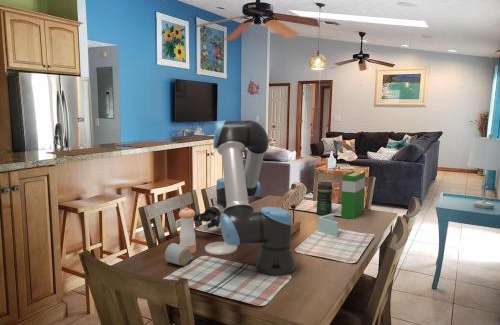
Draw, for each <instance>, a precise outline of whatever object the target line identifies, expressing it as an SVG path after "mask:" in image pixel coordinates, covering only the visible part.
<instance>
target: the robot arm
mask: <svg viewBox="0 0 500 325" xmlns="http://www.w3.org/2000/svg"><path fill="white" fill-rule="evenodd" d="M268 148H269V136H268V134H267V131H266V130H265V128H264V127H263V126H262V125H261V124H260V123H258V122H257V121H254V120H249V119H248V120H225V119H224V120H218V121H216V122H215V126H214V132H213V149H217V153H218V154H219V155H220V156H221V160H222V161H221V162H222V163H221V164H222V172H223V177H220V178H218V179H216V186H215V187H216V188H215V189H216V204H215V205H213V206H210V207H208V208H206V209H205V210H204V211H203V212H202V213H199V212H195V216H194V222H198V223H199V222H202V223H203V222H204V223H203V224H201V231H202V232H205V231H207V230H209V229H210V228H214V227H216V228H219V226H220V231H221V236H222V238H223V242H225V243H226V244H228V245H237V246H241V245H253V244H255V245H256V244H260V249H259V252H258V254H257V258H256V260H255V268H256V270H257V271H259V272H260V273H262V274H264V275H269V276H285V275H288V274H289V275H290V274H291V273H293V272H294V271H295V270H296V260H295V259H294V256H293V255H294V254H293V252H292V214H291V213H290V212H289V211H288V210H286V209H284V208H280V207H275V206H264V207H261V208H260V211H259V212H255V211H254V207H253V206H252V205H251V204H250V203H249V197H256V196H257V197H258V196H260V194H261V190H262V189H261V187H262V186H261V182H260V181H259V178H260V174H261V169H262V164H263V161H264V160H263V159H264V156H265V153H266V152H267V151H268ZM246 149H247V154H246V158H245V164H244V158H243V157H244V156H243V153H244V152H245V151H246ZM175 227H176V228H178V227H181V218H180V217H179V219H177V220H175Z"/></svg>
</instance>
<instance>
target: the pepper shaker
mask: <svg viewBox="0 0 500 325" xmlns="http://www.w3.org/2000/svg"><path fill="white" fill-rule="evenodd" d="M195 213H196V212H195V210H194V209H192V208H189V207H185V208H184V209H181V210H179V212H178V216H179V219H180V218H181V226H180V230H179V244H178V245H181V246H184V247H186V248H188V249H189V250H190V251H191V254H194V253H196V252H197V242H196V233H195V232H196V231H195V224H194V223H195V221H194V216H195Z"/></svg>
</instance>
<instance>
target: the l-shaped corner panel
mask: <svg viewBox="0 0 500 325" xmlns="http://www.w3.org/2000/svg"><path fill="white" fill-rule="evenodd" d="M339 226H340V225H339V221H335V213H331V214H329V215H324V216H322V215H321V216H319V217H317V232H320V233H323V234H325V235H329V236H332V237H336V238H338V237H339V235H340V234H342V232H343V231H342V228H340V227H339Z"/></svg>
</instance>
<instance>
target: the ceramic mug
mask: <svg viewBox="0 0 500 325" xmlns="http://www.w3.org/2000/svg"><path fill="white" fill-rule="evenodd" d="M193 258H194V255H192V253H191V251H190V250H189V249H188V248H186V247H184V246H181V245H179V244H178V243H175V242H173V243H170V244H168V246H167V247H166V250H165V252H164V259H165V261H166V262H168V263H171V264H175V265H177V266H181V267H182V266H183V267H184V266H186V265H188V264H189V262H190V261H191V260H193Z"/></svg>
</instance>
